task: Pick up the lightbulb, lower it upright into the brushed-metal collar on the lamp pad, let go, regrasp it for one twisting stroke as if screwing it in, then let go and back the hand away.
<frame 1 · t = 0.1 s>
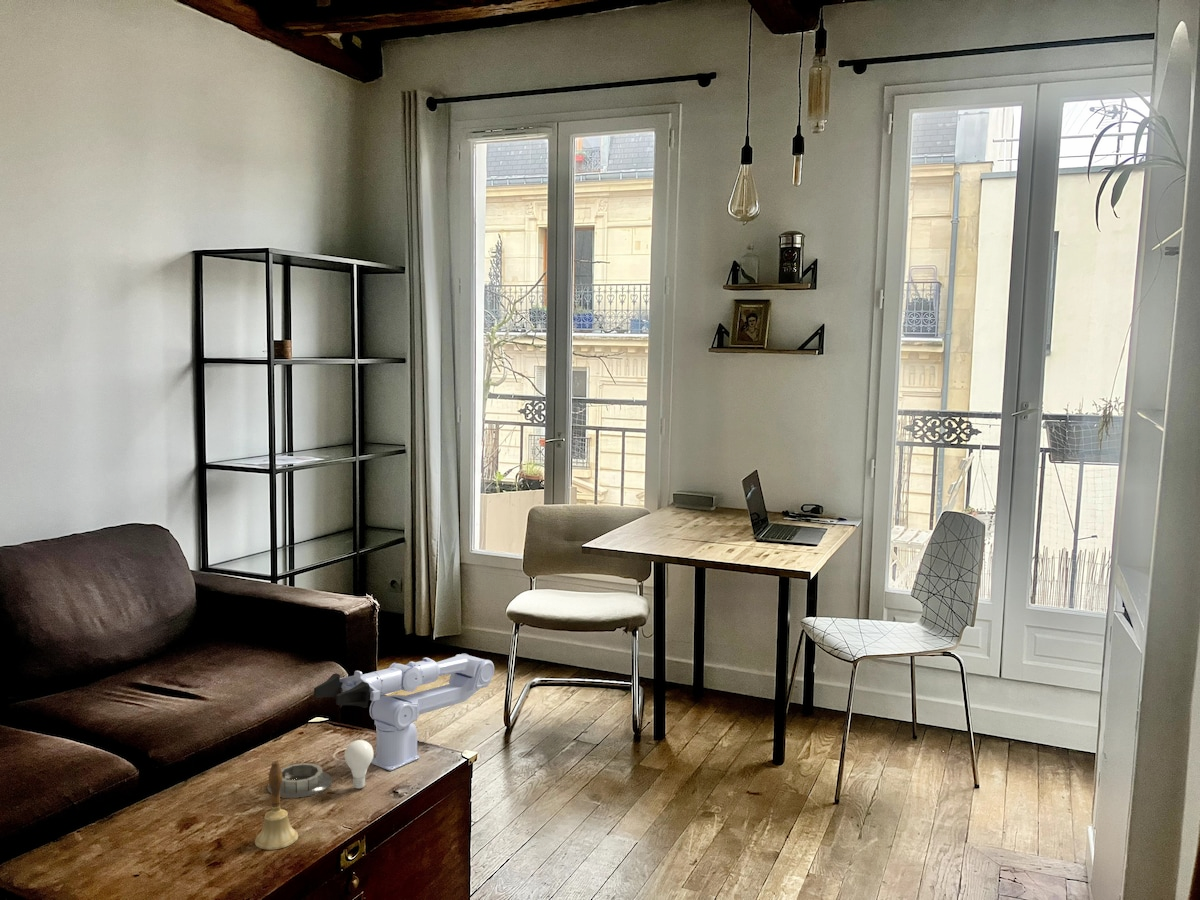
hand: (325, 696, 207), 22 cm above the table, tool horizontal, fingers open, 7 cm apart
hand bell: (276, 840, 188), on the table
lamp base: (299, 784, 212), on the table
lightbulb: (359, 789, 211), on the table
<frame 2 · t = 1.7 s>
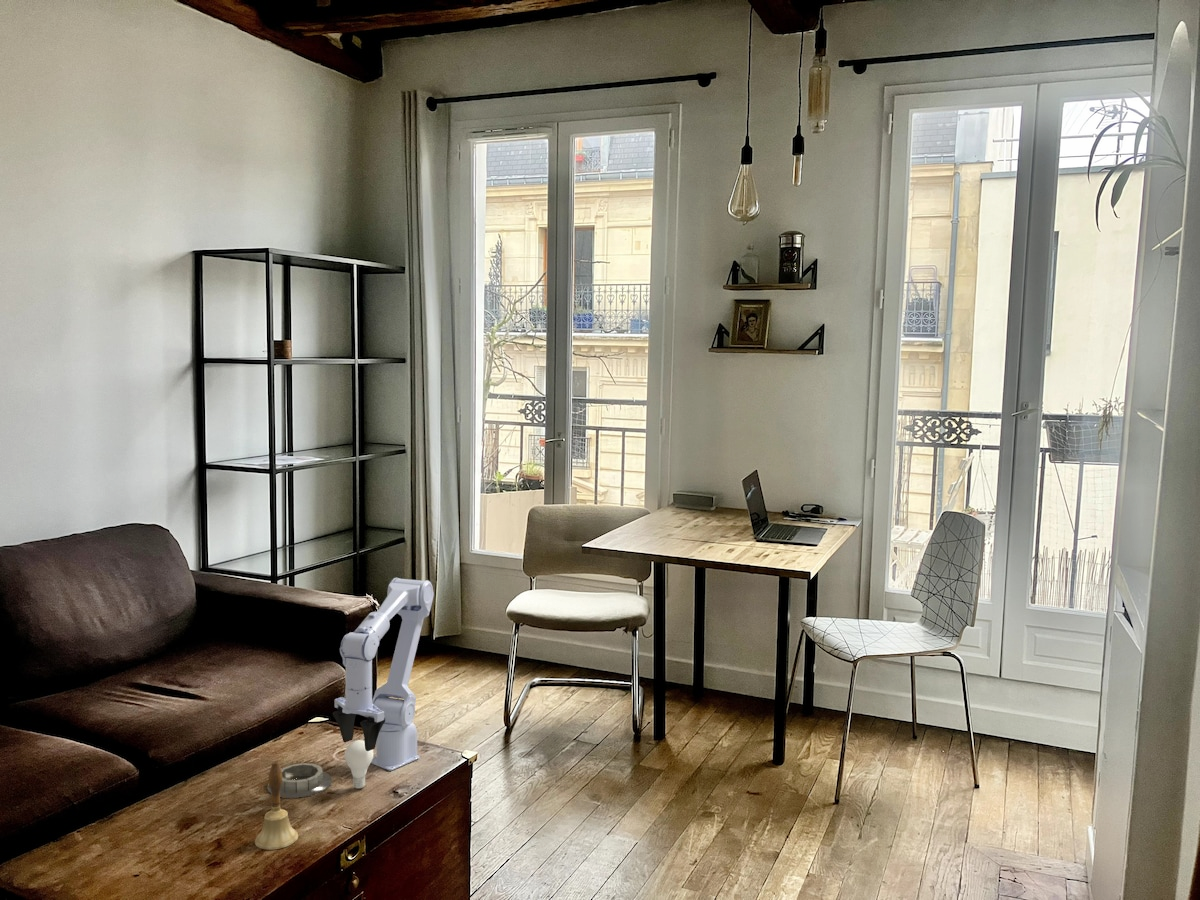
hand: (359, 745, 210), 10 cm above the table, tool pointing down, fingers open, 7 cm apart
nothing on the table moved.
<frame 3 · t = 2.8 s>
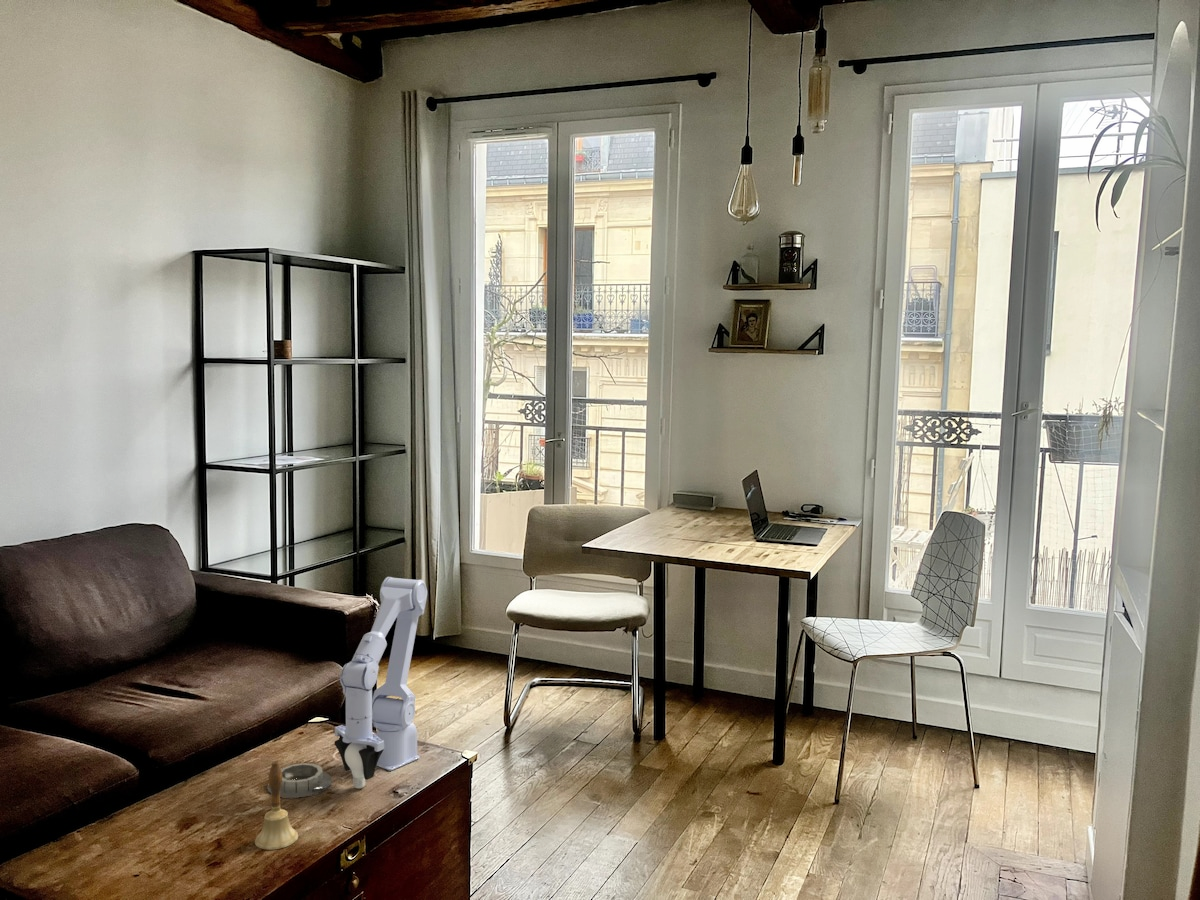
hand: (359, 773, 210), 3 cm above the table, tool pointing down, fingers closed on lightbulb, 6 cm apart
lightbulb: (359, 789, 211), on the table, touching gripper
everything else where it was.
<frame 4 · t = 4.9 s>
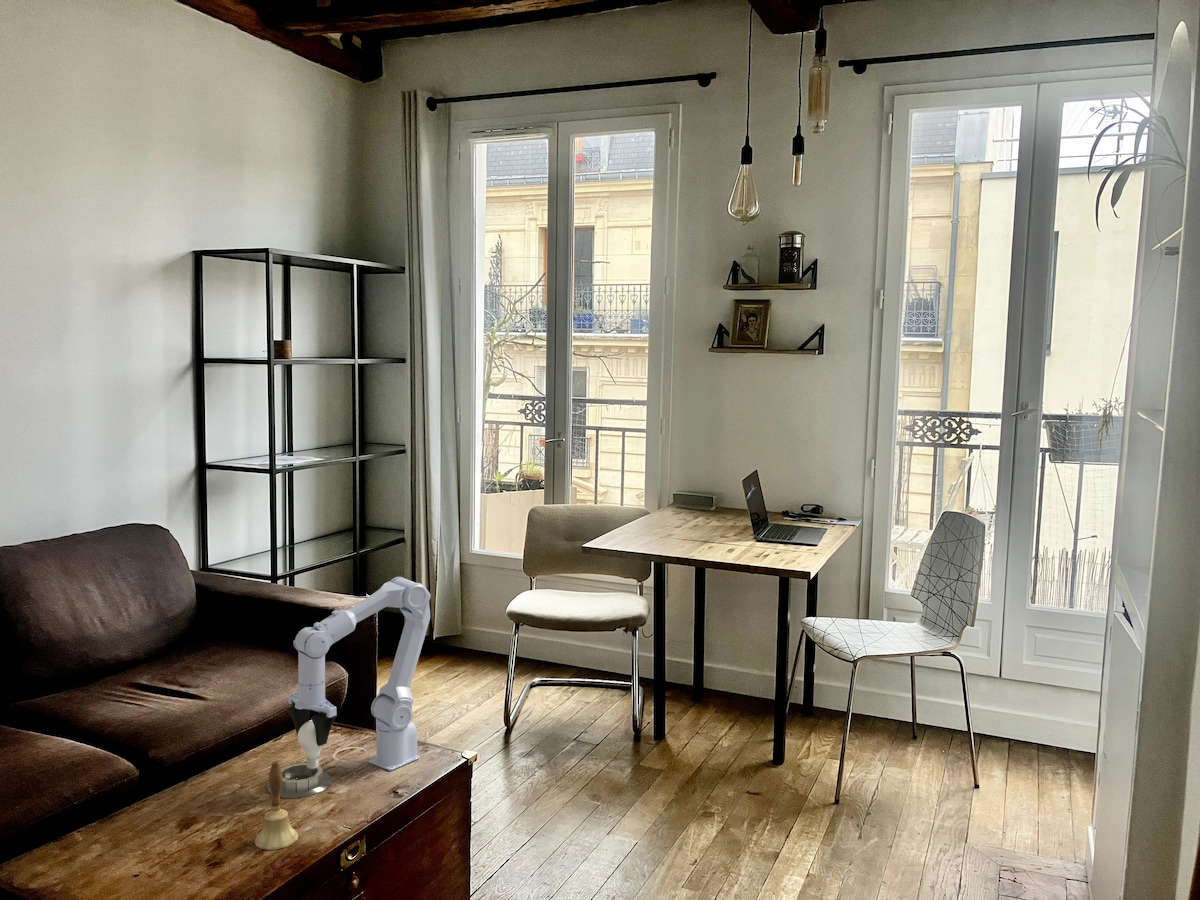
hand: (312, 740, 211), 10 cm above the table, tool pointing down, fingers closed on lightbulb, 6 cm apart
lightbulb: (313, 769, 211), point 4 cm above the table, touching gripper
everything else where it was.
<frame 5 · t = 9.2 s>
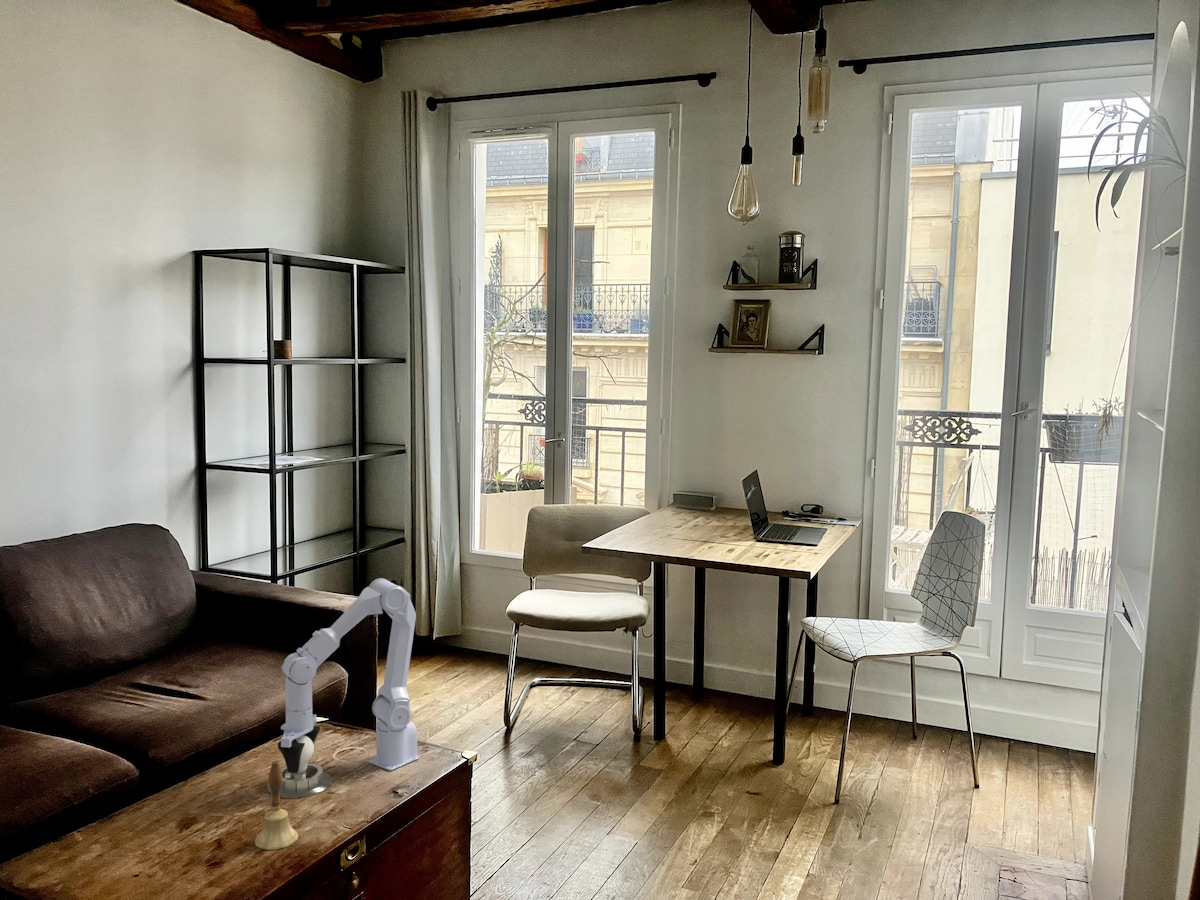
hand: (299, 765, 212), 4 cm above the table, tool pointing down, fingers closed on lightbulb, 6 cm apart
lightbulb: (299, 783, 212), resting on lamp base, touching gripper
everything else where it was.
when the fingers open (5 cm above the table, at t = 11.1 s): lightbulb stays where it is, resting on lamp base.
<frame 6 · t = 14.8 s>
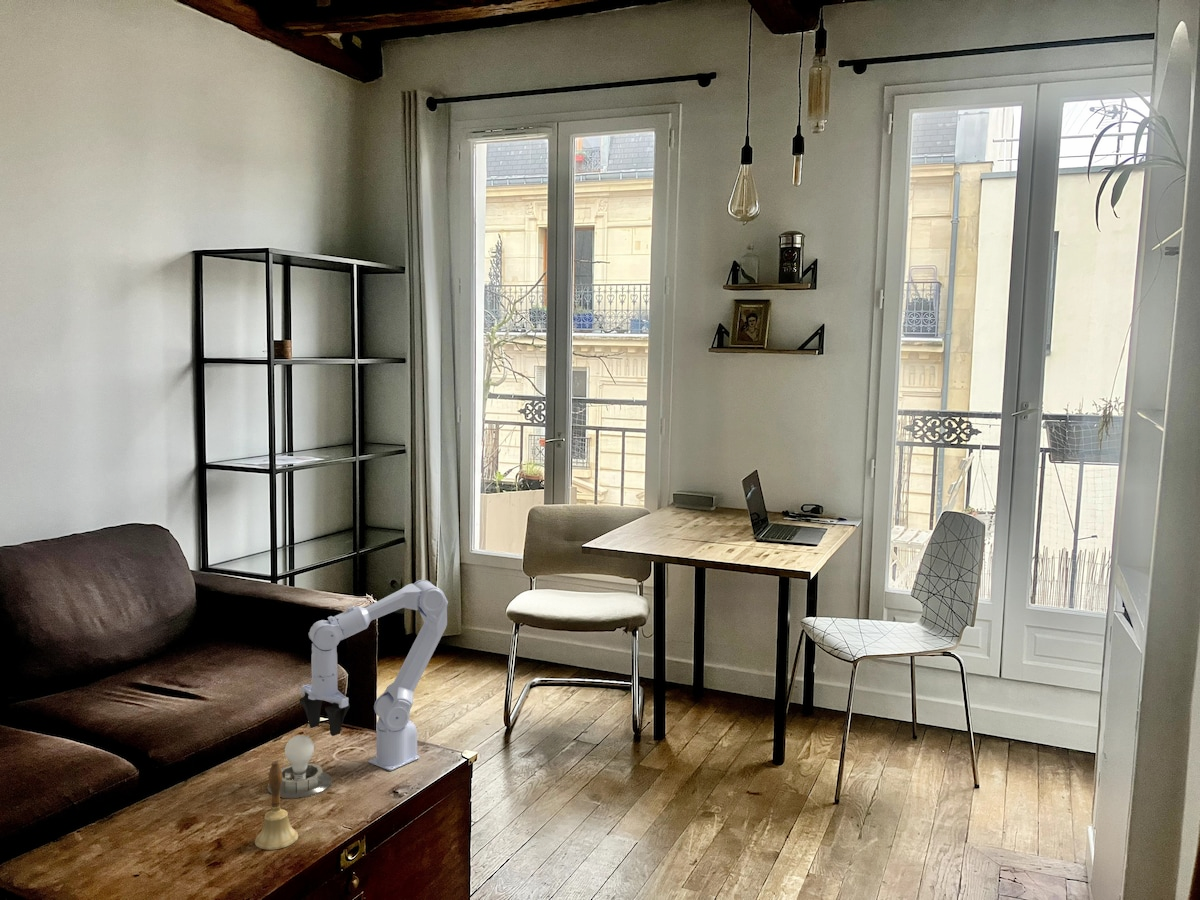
hand: (324, 730, 217), 10 cm above the table, tool pointing down, fingers open, 7 cm apart
lightbulb: (299, 783, 212), resting on lamp base
everything else where it was.
at the end: lightbulb 0.0 cm off-centre on the lamp base, point 0.1 cm above the lamp base's base; lightbulb tilted 0°; the gripper is holding nothing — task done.
